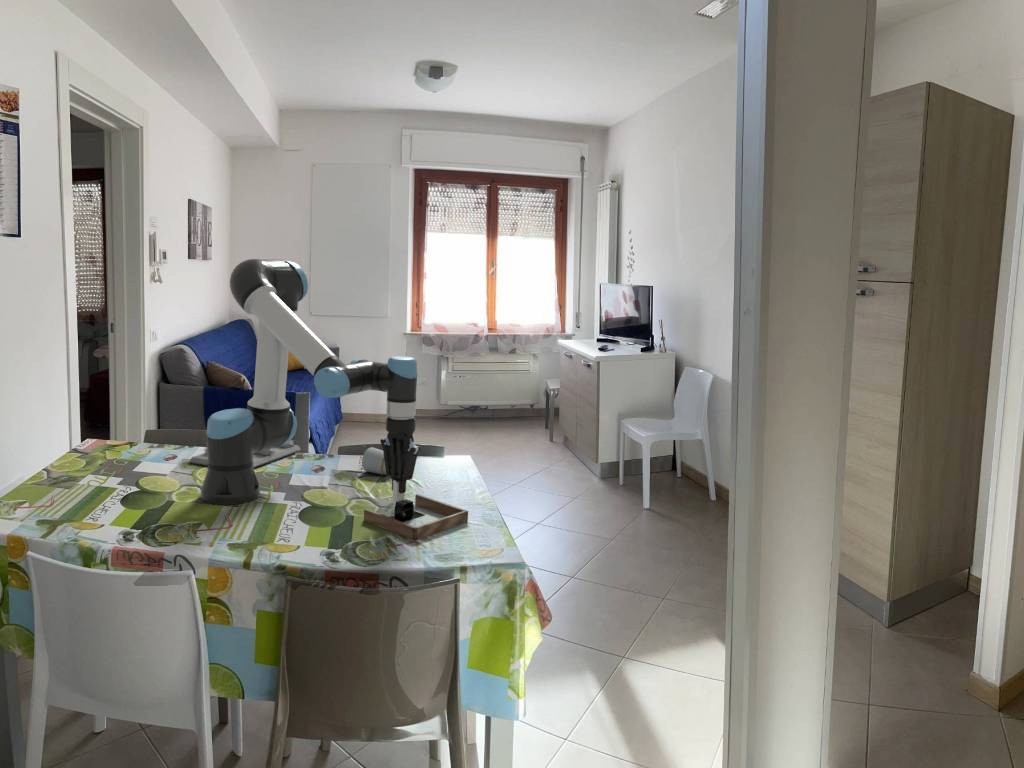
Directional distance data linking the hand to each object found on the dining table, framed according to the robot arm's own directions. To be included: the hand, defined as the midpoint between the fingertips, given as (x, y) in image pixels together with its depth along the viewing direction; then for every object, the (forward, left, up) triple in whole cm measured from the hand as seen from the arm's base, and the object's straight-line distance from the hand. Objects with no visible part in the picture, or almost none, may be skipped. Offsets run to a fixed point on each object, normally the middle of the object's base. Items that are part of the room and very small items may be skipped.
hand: (398, 503), depth 196 cm
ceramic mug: (+23, +33, -3) cm, 40 cm away
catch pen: (0, -6, -3) cm, 7 cm away
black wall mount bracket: (0, -2, -4) cm, 4 cm away
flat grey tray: (+1, +74, -4) cm, 74 cm away
